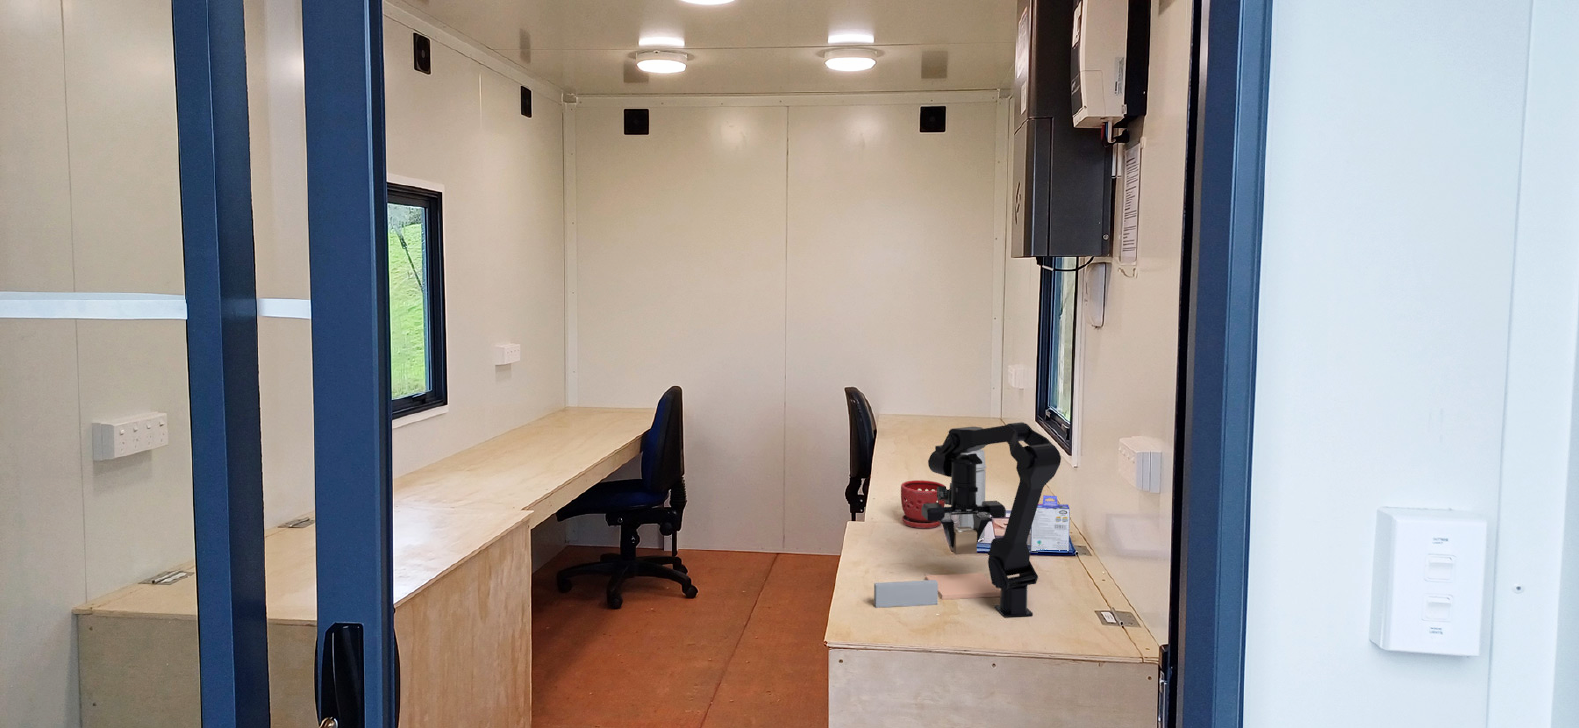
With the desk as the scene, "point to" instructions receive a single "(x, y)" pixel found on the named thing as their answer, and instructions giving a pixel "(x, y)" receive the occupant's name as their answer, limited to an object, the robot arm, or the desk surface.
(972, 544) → the walnut cube
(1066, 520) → the ink cartridge box
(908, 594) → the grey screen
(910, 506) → the plant pot
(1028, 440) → the robot arm
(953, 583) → the mat
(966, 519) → the water bottle
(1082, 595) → the desk surface
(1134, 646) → the desk surface
